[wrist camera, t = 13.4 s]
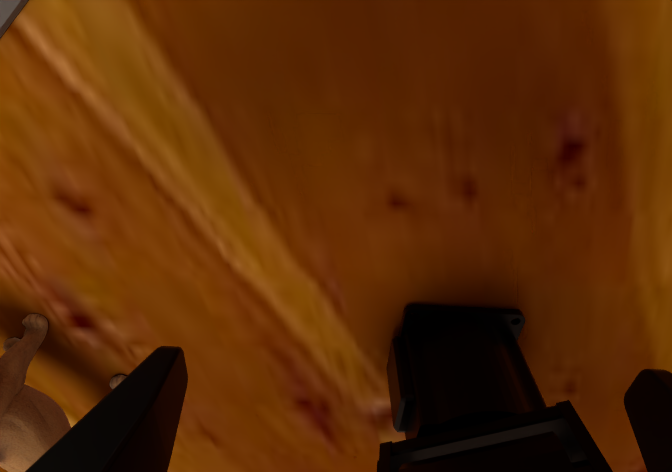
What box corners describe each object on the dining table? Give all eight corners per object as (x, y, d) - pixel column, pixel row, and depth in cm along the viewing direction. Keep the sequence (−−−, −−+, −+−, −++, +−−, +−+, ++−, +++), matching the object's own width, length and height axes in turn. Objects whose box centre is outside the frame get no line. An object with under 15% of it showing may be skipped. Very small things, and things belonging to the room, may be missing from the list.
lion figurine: (-72, 317, 24) (-253, 481, 17) (-26, 269, 23) (-207, 430, 15) (145, 436, 31) (83, 595, 23) (195, 406, 29) (145, 568, 21)
